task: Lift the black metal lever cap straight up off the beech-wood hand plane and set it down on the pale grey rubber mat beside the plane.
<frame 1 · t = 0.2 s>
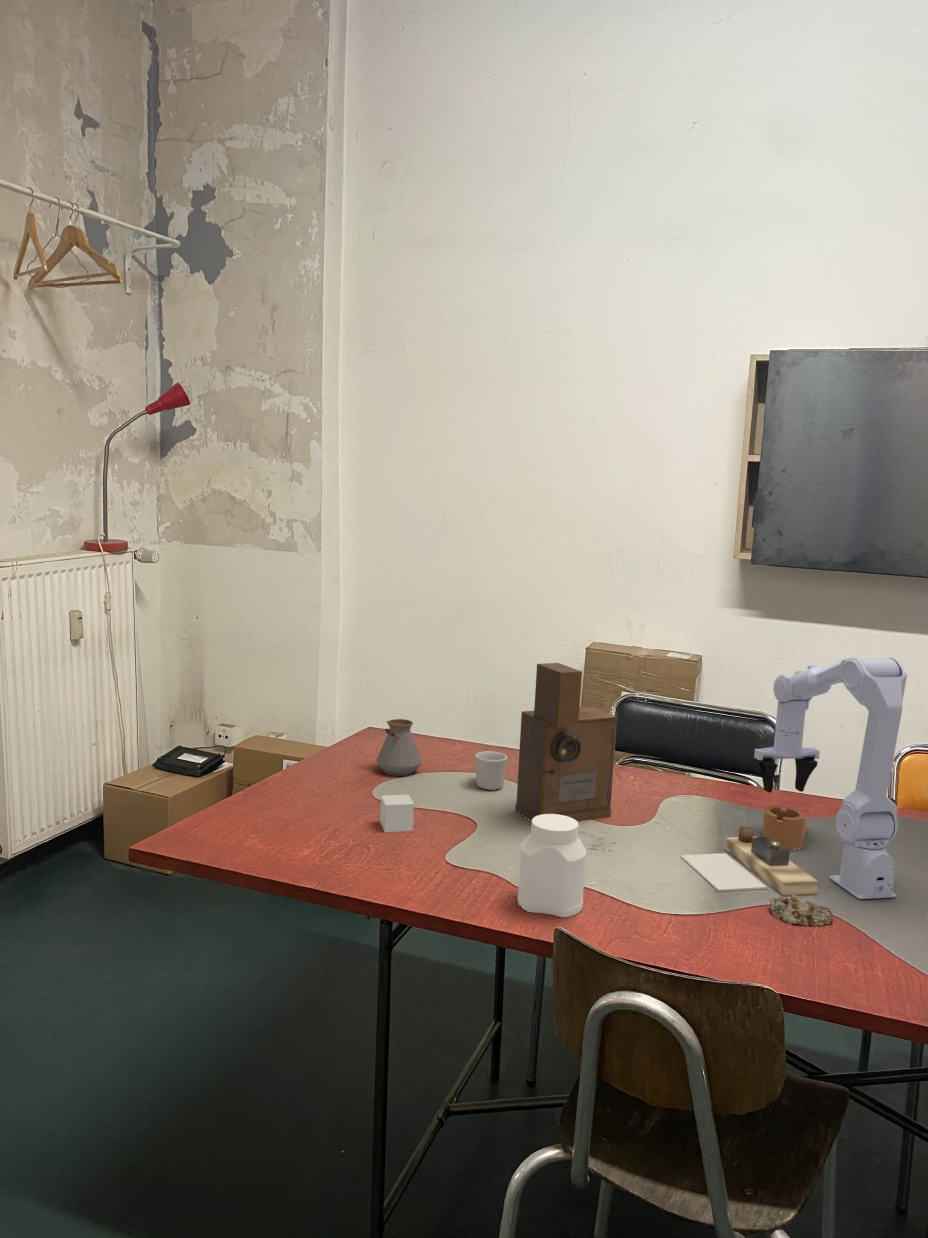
hand: (783, 790, 198), 10 cm above the table, tool pointing down, fingers open, 7 cm apart
vintage camera: (561, 816, 204), on the table
bracket: (784, 837, 199), on the table
mineral rock: (799, 919, 160), on the table
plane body: (768, 870, 179), on the table
lever cap: (769, 858, 179), point 2 cm above the table, touching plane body
cup: (487, 786, 223), on the table
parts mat: (721, 872, 177), on the table
jar: (549, 904, 160), on the table
coffee pot: (394, 777, 226), on the table
white cube: (396, 827, 193), on the table
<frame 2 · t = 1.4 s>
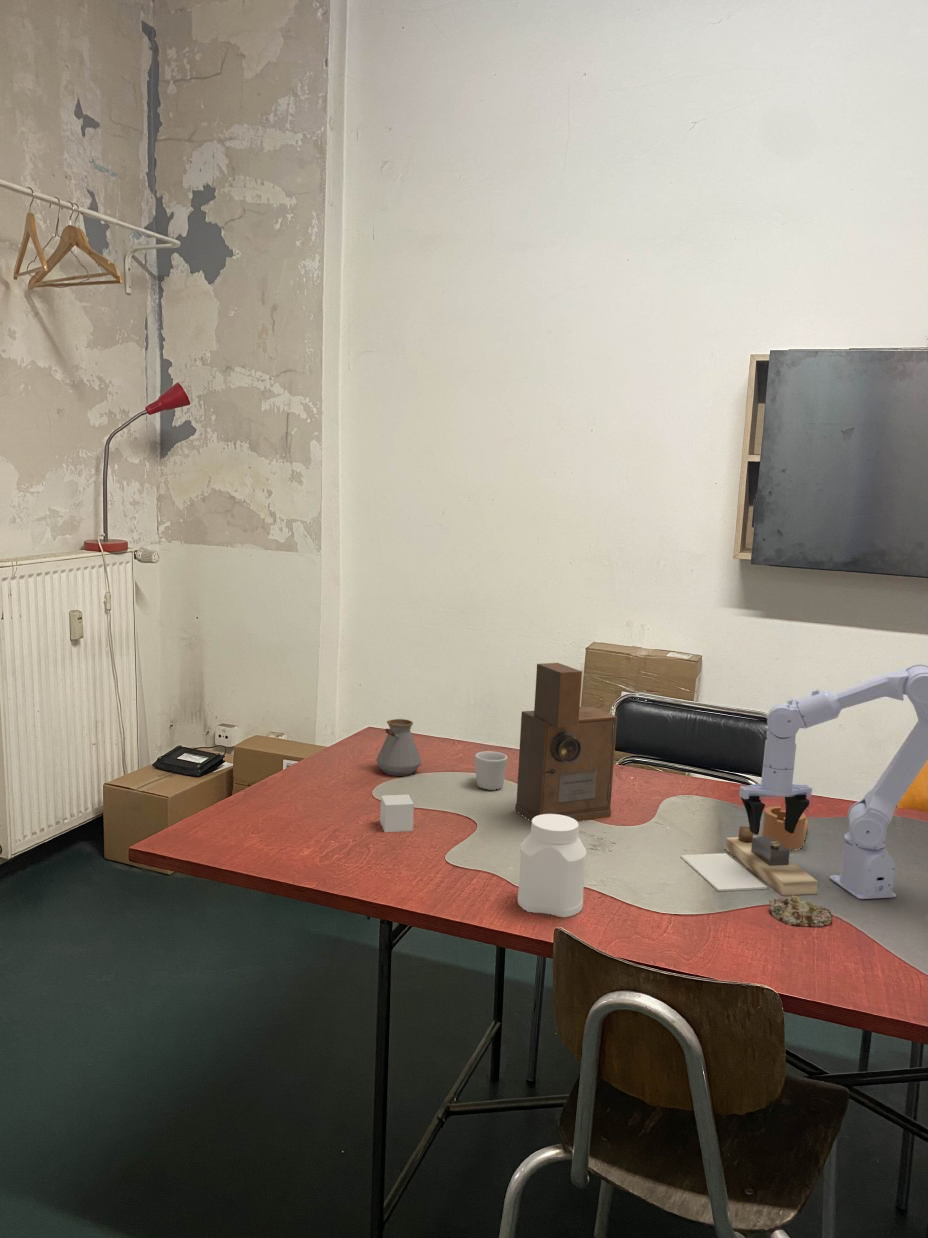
hand: (771, 832, 178), 8 cm above the table, tool pointing down, fingers open, 7 cm apart
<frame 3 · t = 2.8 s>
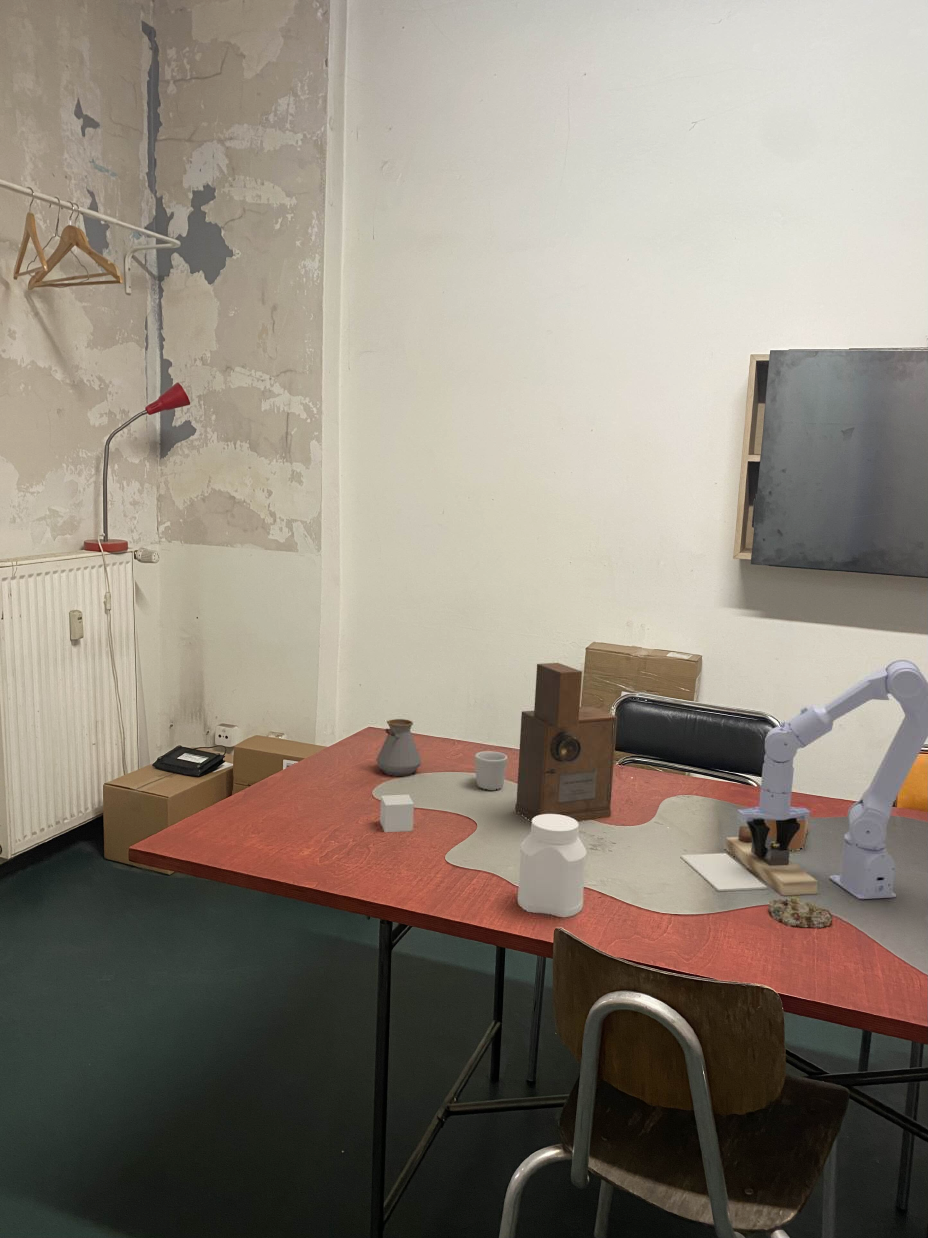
hand: (769, 855, 179), 3 cm above the table, tool pointing down, fingers closed on lever cap, 4 cm apart
lever cap: (769, 858, 179), point 2 cm above the table, touching gripper, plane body
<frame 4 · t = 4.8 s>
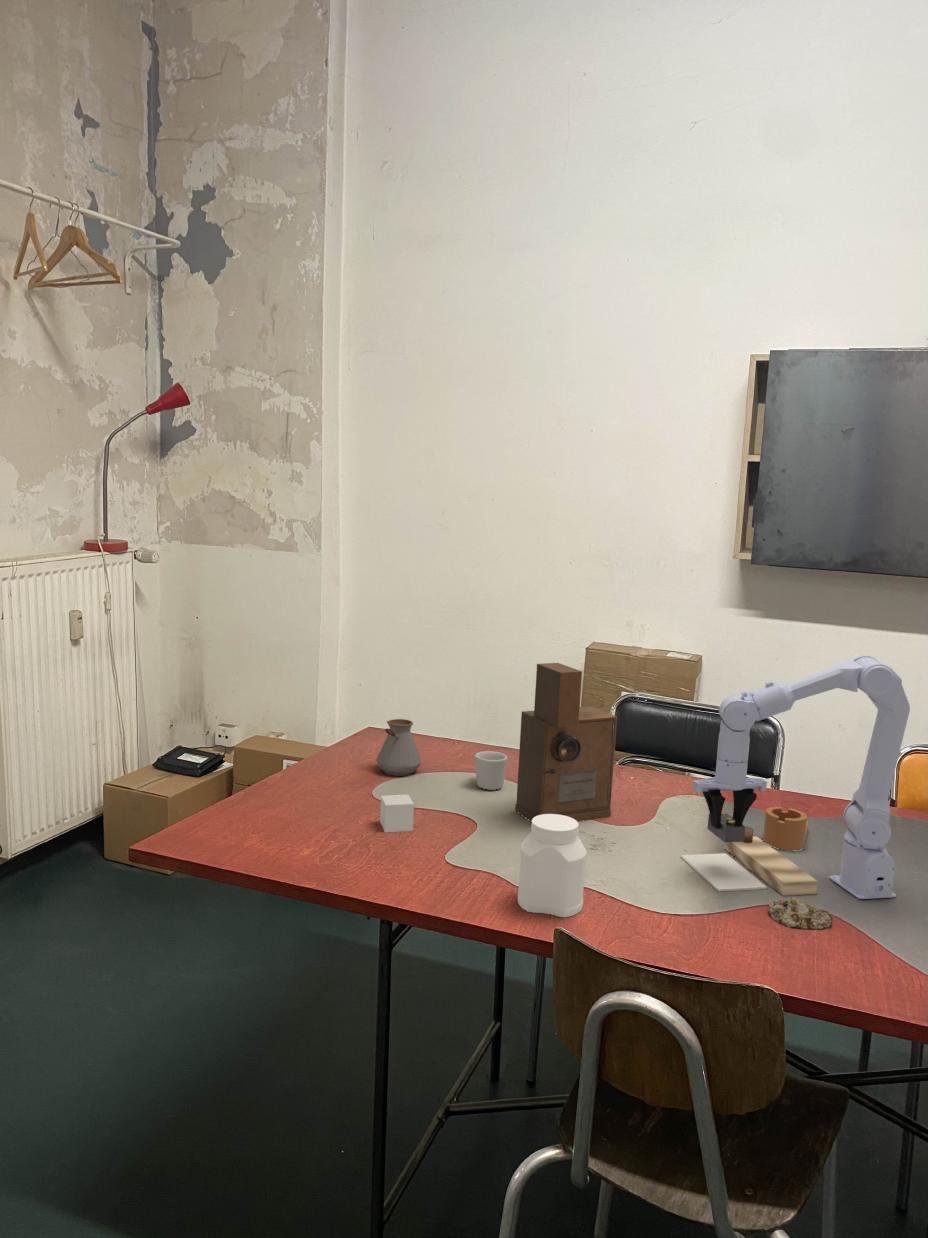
hand: (726, 826, 176), 9 cm above the table, tool pointing down, fingers closed on lever cap, 4 cm apart
lever cap: (725, 835, 176), point 8 cm above the table, touching gripper
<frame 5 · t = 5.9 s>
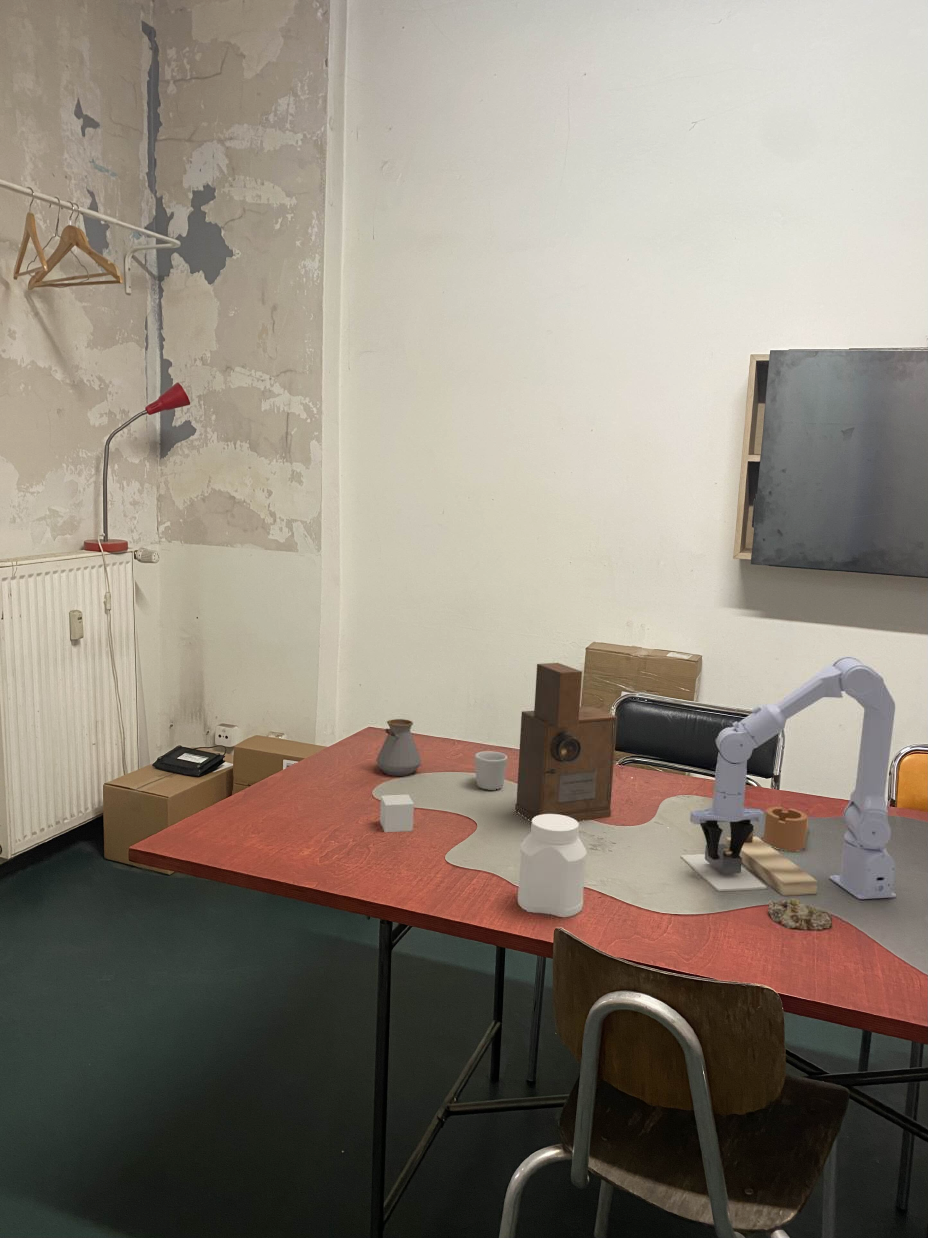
hand: (723, 857, 177), 3 cm above the table, tool pointing down, fingers closed on lever cap, 4 cm apart
lever cap: (722, 866, 177), point 1 cm above the table, touching gripper
when the fingers open (2 cm above the table, at t = 6.9 s): lever cap stays where it is, resting on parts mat.
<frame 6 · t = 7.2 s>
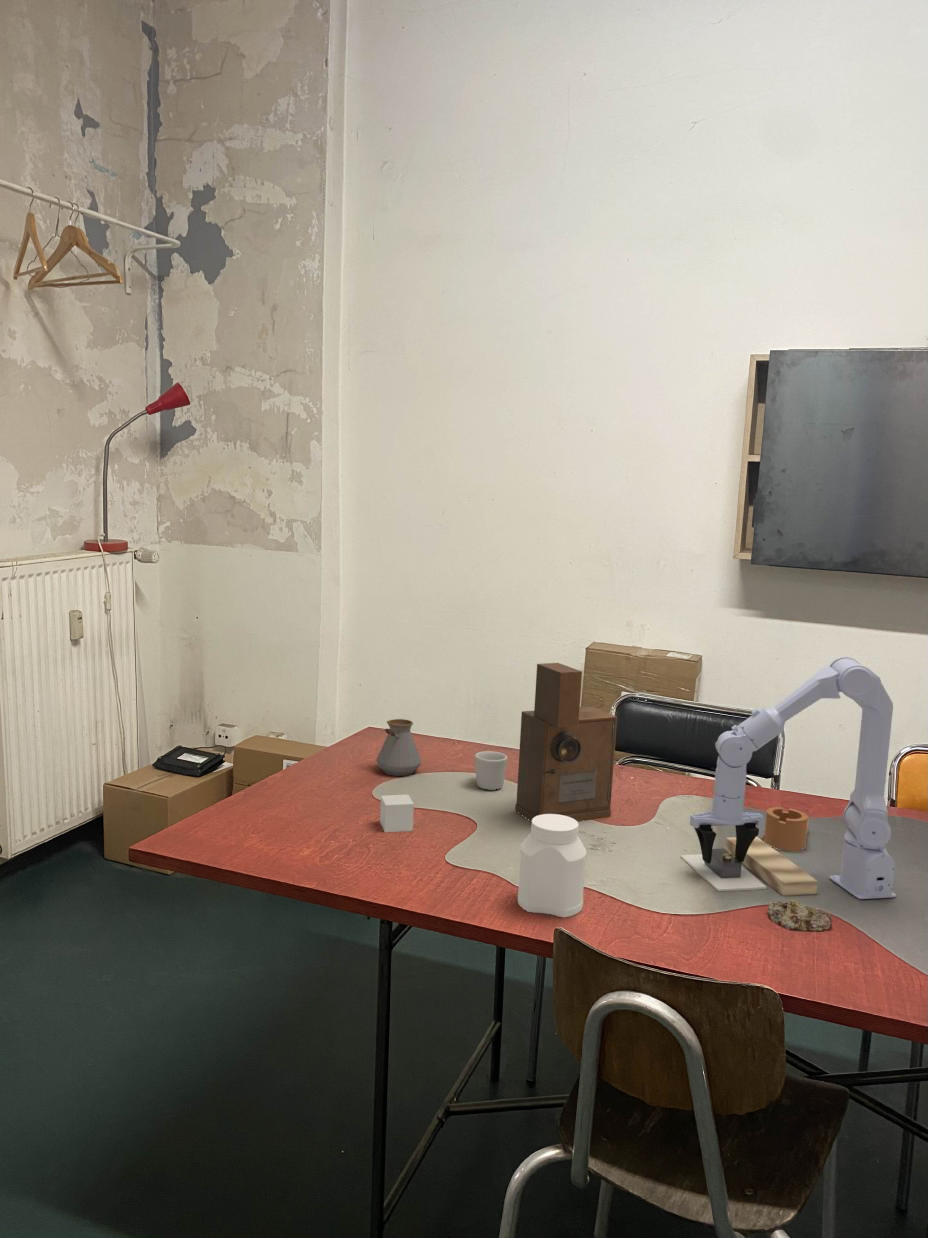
hand: (723, 860, 177), 2 cm above the table, tool pointing down, fingers open, 6 cm apart
lever cap: (722, 870, 177), resting on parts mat
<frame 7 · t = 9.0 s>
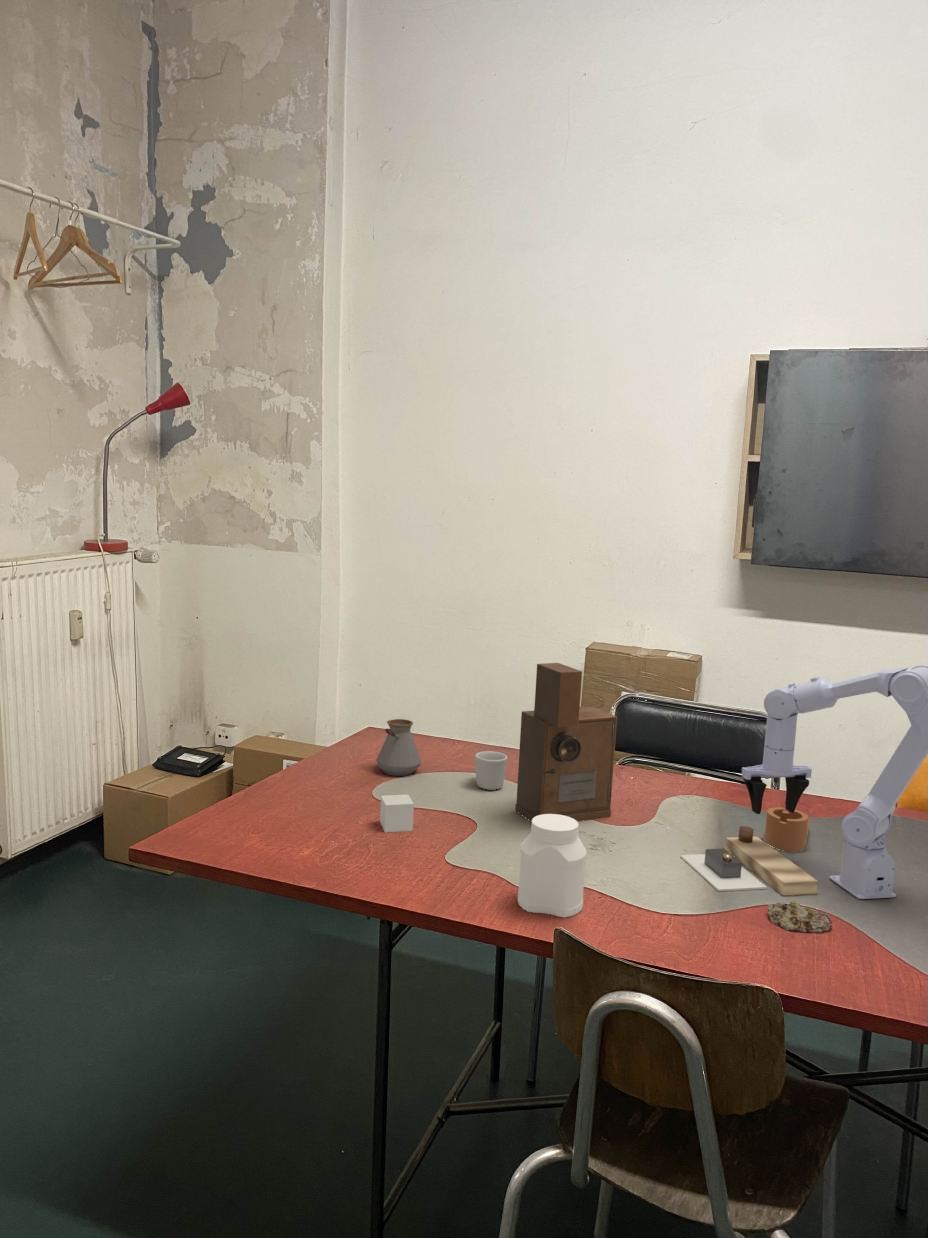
hand: (772, 811, 184), 10 cm above the table, tool pointing down, fingers open, 7 cm apart
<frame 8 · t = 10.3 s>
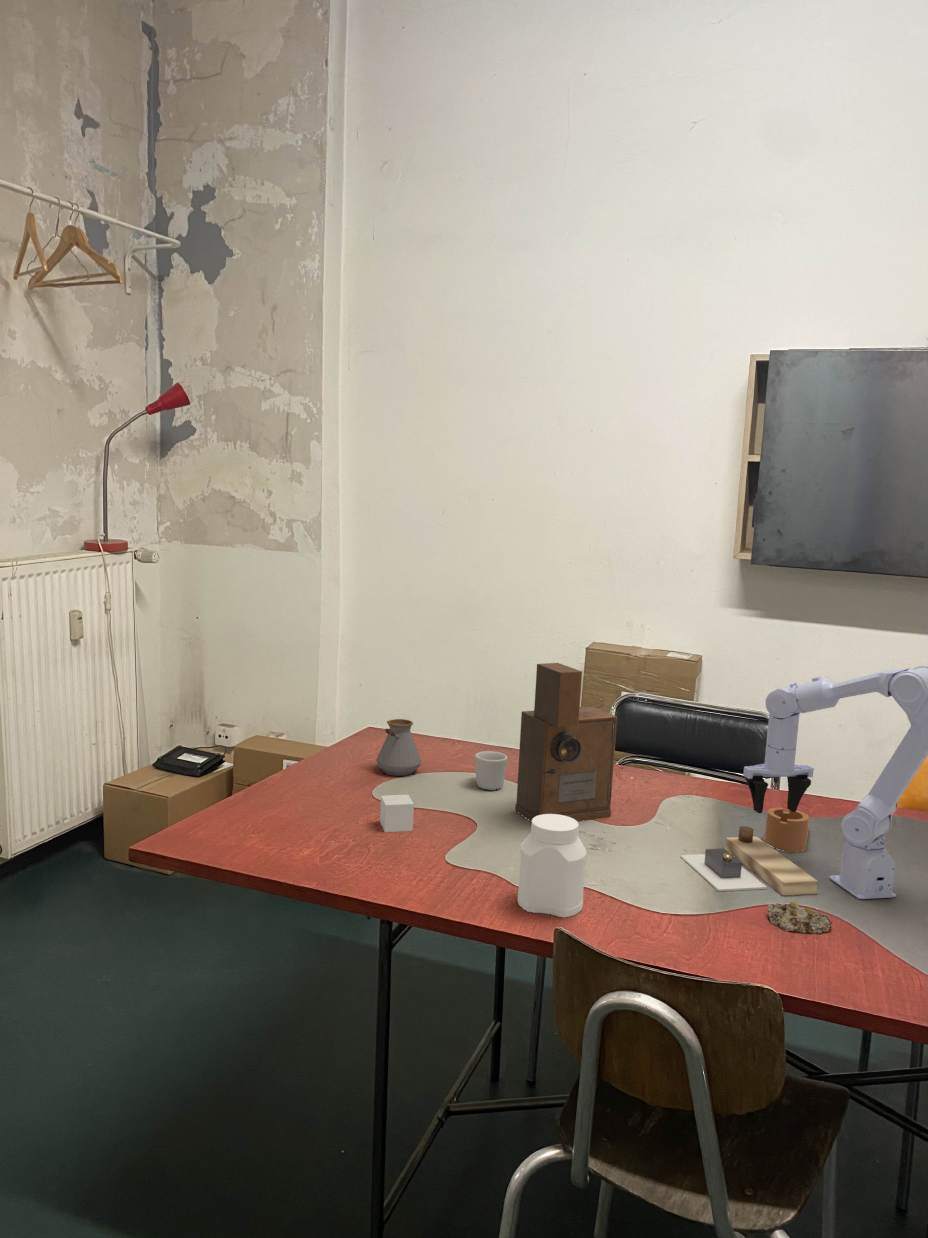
hand: (774, 811, 185), 10 cm above the table, tool pointing down, fingers open, 7 cm apart
at the end: lever cap inside the target area on the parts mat (0.0 cm from its centre), point 0.4 cm above the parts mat's base; lever cap tilted 0°; lever cap touching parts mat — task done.
